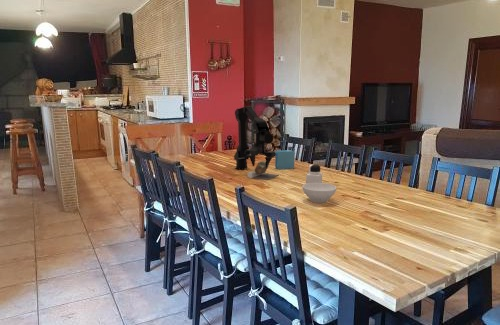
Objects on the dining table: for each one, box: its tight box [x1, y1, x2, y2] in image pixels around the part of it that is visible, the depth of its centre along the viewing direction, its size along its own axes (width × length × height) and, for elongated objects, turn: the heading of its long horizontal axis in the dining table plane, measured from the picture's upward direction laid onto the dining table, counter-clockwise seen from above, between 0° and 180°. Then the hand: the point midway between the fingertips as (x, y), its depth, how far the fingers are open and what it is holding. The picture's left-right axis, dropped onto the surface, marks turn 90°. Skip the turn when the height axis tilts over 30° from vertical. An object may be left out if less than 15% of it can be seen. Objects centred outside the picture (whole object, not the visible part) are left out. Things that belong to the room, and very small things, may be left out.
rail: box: [247, 170, 267, 179], centre depth 234 cm, size 3×16×3 cm, turn 147°
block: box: [253, 160, 270, 174], centre depth 232 cm, size 4×7×6 cm, turn 147°
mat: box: [252, 172, 279, 181], centre depth 231 cm, size 10×14×1 cm
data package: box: [274, 149, 296, 170], centre depth 254 cm, size 12×4×12 cm, turn 107°
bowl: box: [301, 182, 337, 204], centre depth 181 cm, size 16×16×7 cm
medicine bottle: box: [305, 164, 323, 184], centre depth 207 cm, size 7×7×12 cm
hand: (259, 167), depth 232 cm, fingers open, 9 cm apart
